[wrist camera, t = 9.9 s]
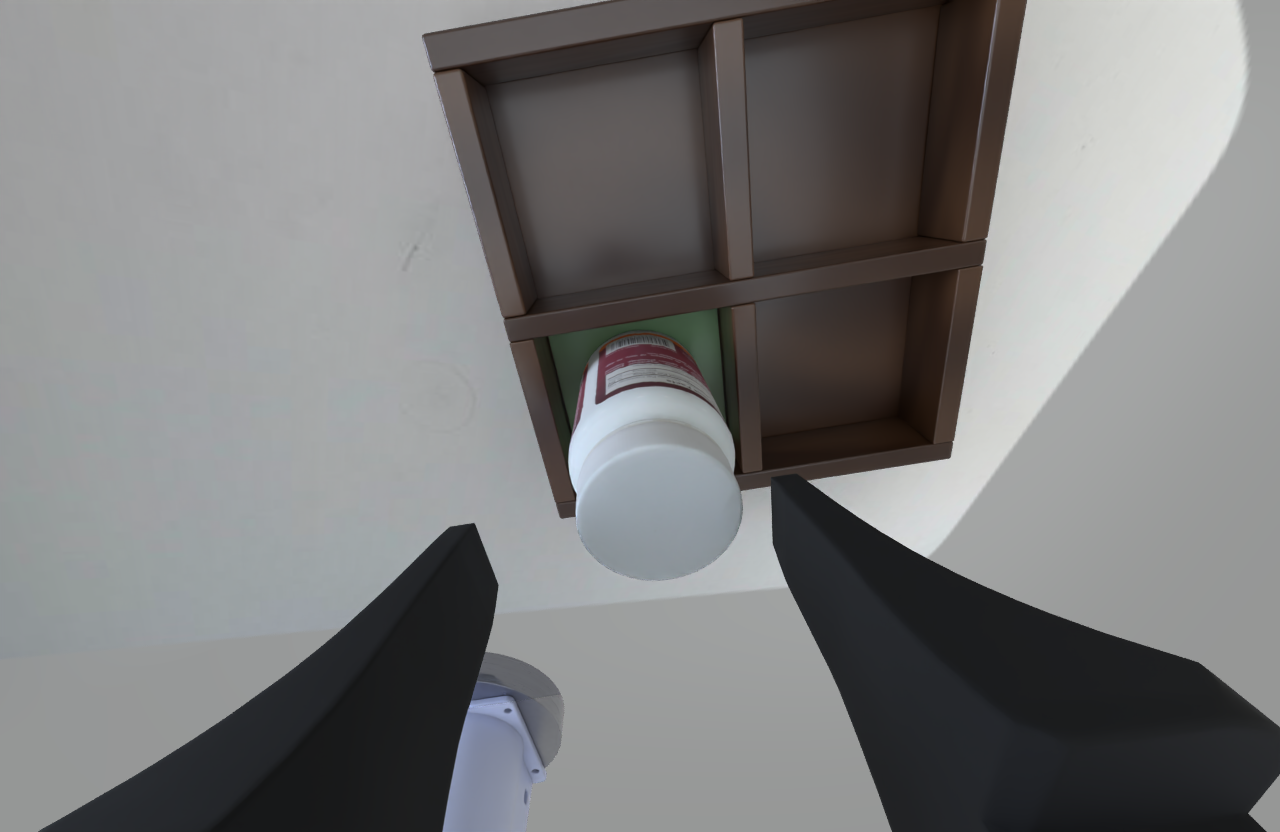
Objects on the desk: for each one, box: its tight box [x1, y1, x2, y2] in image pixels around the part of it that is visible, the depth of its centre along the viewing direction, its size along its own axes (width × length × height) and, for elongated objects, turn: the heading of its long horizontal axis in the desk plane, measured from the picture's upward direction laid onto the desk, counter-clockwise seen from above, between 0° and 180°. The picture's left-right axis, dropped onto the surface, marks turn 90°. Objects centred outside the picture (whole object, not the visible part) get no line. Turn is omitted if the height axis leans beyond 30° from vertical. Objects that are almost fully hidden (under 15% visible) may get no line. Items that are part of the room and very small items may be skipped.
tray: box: [422, 0, 1027, 519], centre depth 16 cm, size 15×15×3 cm
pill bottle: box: [568, 330, 743, 580], centre depth 15 cm, size 5×5×8 cm
